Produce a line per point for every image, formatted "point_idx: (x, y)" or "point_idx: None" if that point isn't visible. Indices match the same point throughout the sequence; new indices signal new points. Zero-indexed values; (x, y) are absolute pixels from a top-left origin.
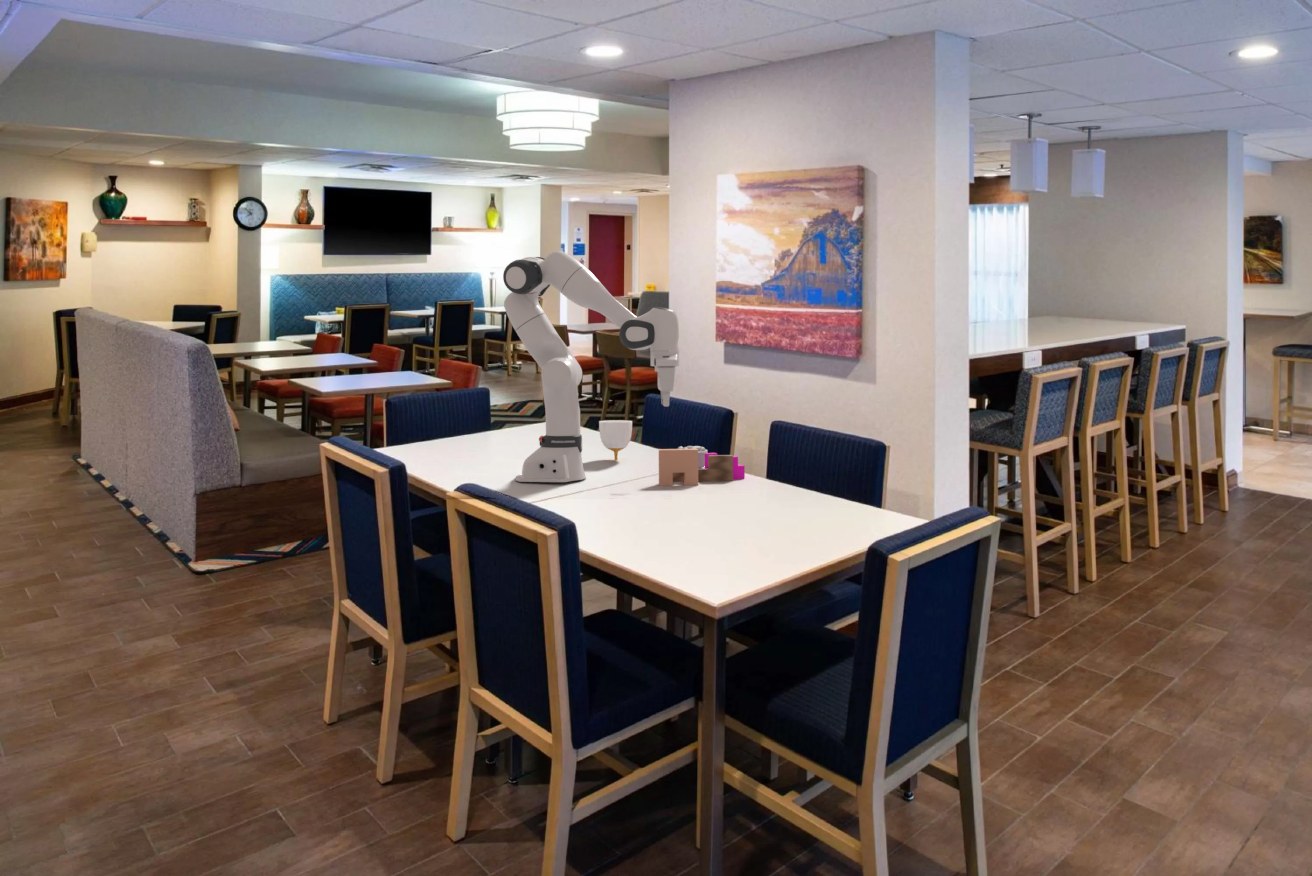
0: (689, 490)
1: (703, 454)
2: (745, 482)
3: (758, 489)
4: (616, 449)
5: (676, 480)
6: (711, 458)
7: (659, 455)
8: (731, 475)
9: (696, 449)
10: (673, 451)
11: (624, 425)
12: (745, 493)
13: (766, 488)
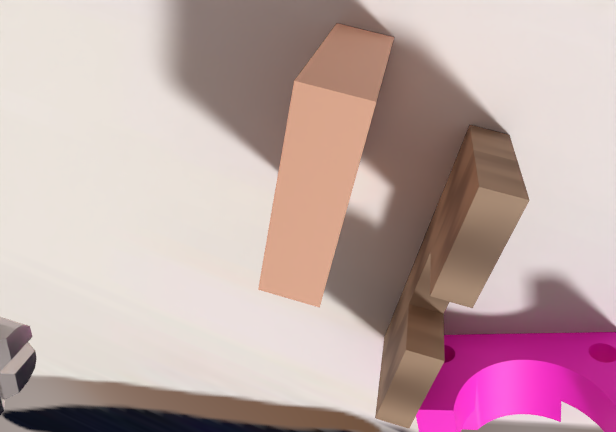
0: (161, 106)
1: None
2: (329, 348)
3: (160, 311)
4: None
5: (458, 154)
6: (403, 348)
7: (302, 70)
8: (384, 348)
9: (278, 289)
10: (280, 167)
11: None
12: (77, 247)
13: (178, 336)
